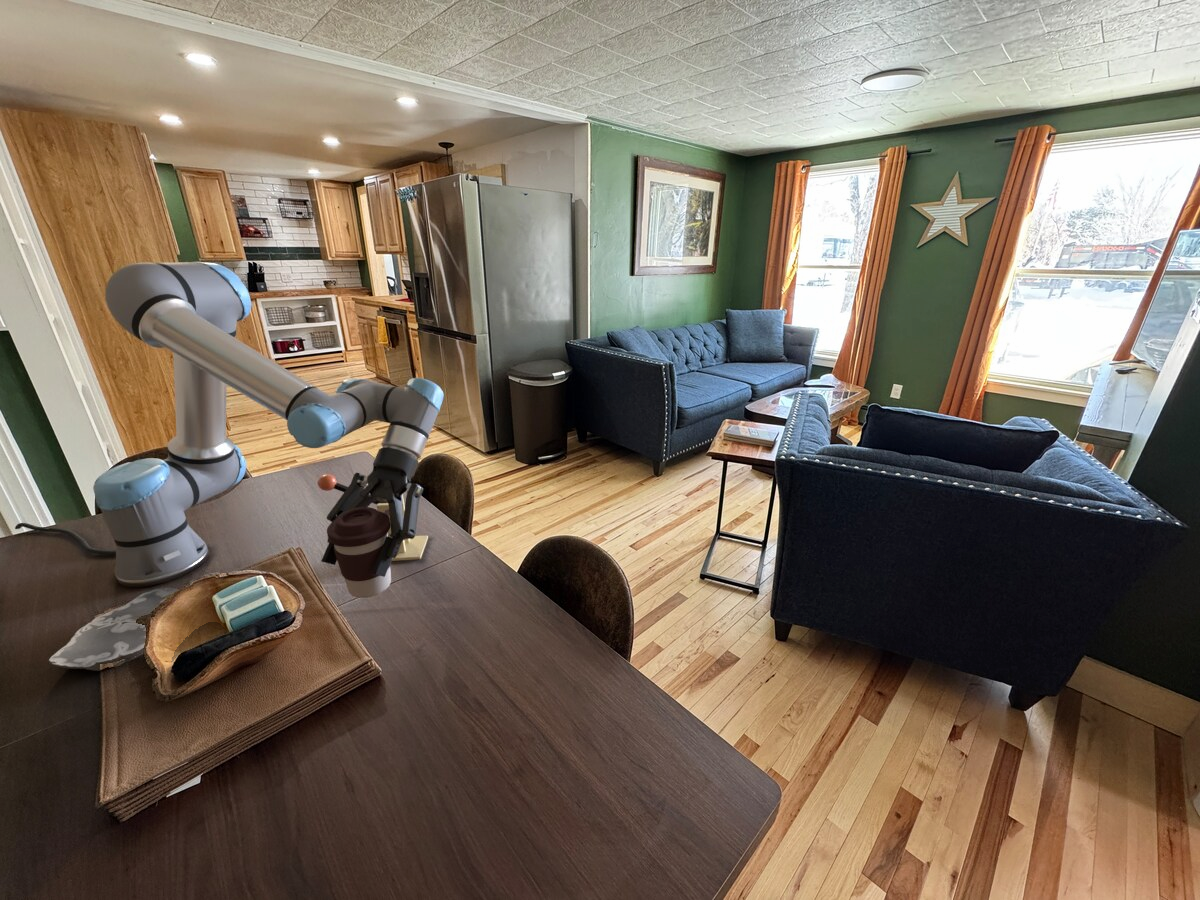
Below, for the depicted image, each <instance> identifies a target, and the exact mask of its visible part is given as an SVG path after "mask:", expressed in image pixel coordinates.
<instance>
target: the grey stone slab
mask: <svg viewBox="0 0 1200 900" xmlns="http://www.w3.org/2000/svg"><path fill="white" fill-rule="evenodd" d="M178 589H181V588H180V587H166V588H165V587H159V588H154V589H151V590H148V591H146V592H144V593H141V594H140V595H138V596H137V597H135V598H134V599H132V600H131V601H130V602H127V603H126V604H124V605H122V606H119V607H117V608H115V609H112V610H111V611H108V612H106V613H103V614H101V615H98V616H97V617H95V618H93V619H92V620H91V622H88V623H87V624H85V625H83V626H82V627H80V628H79V629H78V630H77V631H75V633H74V634H73V636H72V637H71V638H70V640H69V641H68V642H67V643H66V645H64V646H63V647H61V648H60V649H58V651H56V652H55V653H54V654H53V655H51V657H50V658H49V659H48V662H49V664H51V666H54V667H57V668H62V669H72V670H76V669H77V670H79V669H80V670H81V669H83V670H89V671H96V672H99V671H100V669H99V667H100V664H107V663H113V662H117V661H120V660H122V659H125V660H124V661H121V662H119V663H117V664H116V665H115V667H114V668H117V667H119V666H121V665H122V664H124V663H126V662H130V661H132V660H135V659H138V658H139V657H141V656H143V655H144V654H142V653H143V648H144V645H145V638H146V627H145V625H142V624H138V623H136V620H137V618H139V617H141V616H144V615H148V614H150V613H151V612H152V611H153V610H155V608H156V607H158V606H159V605H160V603H162V602H163V600H164V599H165V598H166V597H167V596H169V595H170V594H172V593H174V592H175V591H177V590H178ZM138 655H139V656H138ZM135 656H136V657H135Z"/></svg>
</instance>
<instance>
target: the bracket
mask: <svg viewBox="0 0 1200 900" xmlns="http://www.w3.org/2000/svg"><path fill="white" fill-rule="evenodd" d="M402 499H403V505H402V511H403V519H404V511H405V499H404V493H403V494H402ZM384 501H386V500H384ZM376 510H377V511H380V512H383V513H385V514H387V515H388V517H389V519H390V514H389V505H388V503H378V504H377V505H376ZM389 534H391V524H390V530H389V531H388V535H389ZM389 537H391V536H390V535H389ZM391 538H392V537H391ZM428 539H429V535H415V537H414V538H413V539H405V540H403V541H402V543H401V546H400V548H399V551H398V554H397V556H396V557H395V558H392V559H391V562H393V561H394V562H396V561H397V562H398V561H413V560H421V559H422V557H423V553H424V551H425V548H426V545H427V543H428Z"/></svg>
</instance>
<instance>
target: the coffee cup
mask: <svg viewBox="0 0 1200 900" xmlns="http://www.w3.org/2000/svg"><path fill="white" fill-rule="evenodd" d="M389 530H390V519H389V517H388V515H387V514H385V513H383V512H380V511H377V508H374V507H369V506H368V507H359V508H354V509H350V510H347V511H345V512H343V513H341V514H340V515H339V516H338V517H337V518H336V520H334V521H333V522H330V524H328V526H327V528H326V534H327V540H328V539H329V541H330V542H331V543H332V544H334V551H335V554H336V557H337V561H336V562H337V563H338V567H339V570H340V574H341V576H342V577H343V578H344V581H345V585H346V587H347V588H346V589H347V591H348V593H349V595H350V596H352V597H354V598H359V599H366V598H367V599H368V598H372V597H376V596H378V595H380V594H382V593H383V592H385V591H386V590H387V589H388V588H389V587H390V585H391V582H392V573H391V571H392V570H391V565H392V561H391V562H390V565H389V567H388V570H387V572H386V575H385V577H383V576H379V575H376V574H372V572H373V569H374V567H375V564H376V562H377V559H378V557H379V554H380V552H381V549H382V546H383V544H384V541H385V539H386V536H387V537H389V535H388V531H389Z"/></svg>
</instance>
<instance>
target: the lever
mask: <svg viewBox="0 0 1200 900" xmlns="http://www.w3.org/2000/svg"><path fill="white" fill-rule="evenodd" d="M317 486H318V488H319V489H320V490H321V491H326V492H330V491H332V490H337V491H339V492H342V493H344V492H345V491H346V489H347V488H348V487H349V486H346V485H344V484H342V483H340V482H338V481H337V478H336V476H334V475H333V474H329V473H327V474H322V475H321V476H320V477H319V478H318V480H317ZM359 496H360V495H359ZM378 503H388V502H387V501H384V500H377V501H376V502H374V503H373V504H374V505H376V506H377V504H378Z"/></svg>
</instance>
